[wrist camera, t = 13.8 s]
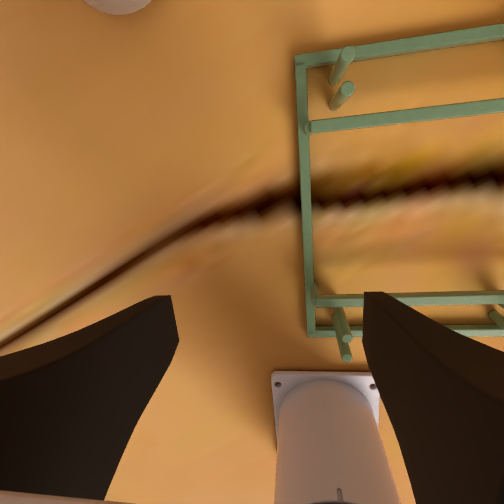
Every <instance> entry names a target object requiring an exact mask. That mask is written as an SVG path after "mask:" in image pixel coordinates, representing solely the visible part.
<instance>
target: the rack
mask: <svg viewBox="0 0 504 504" xmlns="http://www.w3.org/2000/svg"><path fill="white" fill-rule="evenodd" d="M499 40H504V23H501V24H495V25H488V26H482V27H475V28H469V29H462V30H456V31H449V32H443V33H436V34H430V35H423V36H416V37H410V38H403V39H397V40H390V41H384V42H377V43H371V44H364V45H358V46H349V45H348V46H345V47H344V48H338V49H332V50H325V51H319V52H312V53H306V54H299V55H295V58H294V60H295V82H296V103H297V125H298V147H299V169H300V191H301V213H302V235H303V257H304V279H305V301H306V323H307V337H337V341H338V346H339V350H340V354H341V358H342V360H343V361H344V362H350V361H351V360H352V354H351V351H350V347H349V344H348V343H350V342H351V341H352V339H353V338H352V337H362V336H363V326H349V325H348V322H347V319H346V316H345V312H344V309H343V307H364V294H339V295H320V293H319V288H318V284H317V283H316V282H314V272H313V244H312V215H311V187H310V159H309V136H310V135H312V134H314V133H323V132H332V131H341V130H350V129H360V128H369V127H378V126H387V125H396V124H405V123H414V122H423V121H432V120H441V119H450V118H459V117H468V116H477V115H486V114H495V113H504V98H499V99H490V100H482V101H473V102H465V103H456V104H448V105H439V106H431V107H422V108H414V109H405V110H397V111H388V112H380V113H371V114H363V115H354V116H346V117H338V118H329V119H321V120H312V121H309V122H308V102H307V73H306V68H313V67H320V66H327V65H334V64H335V65H334V67H333V69H332V71H331V74H330V76H329V79H328V81H329V83H330V84H331V85H336V84H337V83H338V82H339V80H340V79H341V77H342V76H343V74H344V72H345V71H346V69H347V68H348V66H349V65H350V63H351V62H355V61H361V60H368V59H375V58H382V57H389V56H396V55H403V54H410V53H416V52H423V51H430V50H437V49H444V48H451V47H458V46H465V45H471V44H478V43H485V42H492V41H499ZM354 90H355V86H354V84H353V83H352V82H351V81H346V82H344V83H343V84H342V85H341V87H340V88H339V90H338V91H337V92H336V94H335V95H334V97H333V98H332V100H331V101H330V102H329V108H330V109H331V110H332V111H335V110H337V109H338V108H339V107H340V106H341V105H342V104H343V103H344V102H345V101H346V100H347V99H348V98H349V97H350V96H351V95H352V94H353V93H354ZM387 294H388V295H390V296H392V297H394V298H396V299H397V300H399V301H401V302H402V303H404V304H406V305H407V306H427V305H477V304H498V305H500V306H501V307H502V308H504V290H489V291H451V292H414V293H387ZM315 305H316V307H317V308H327V307H333V308H334V312H335V314H334V315H333V316H332V320H333V324H334V326H315ZM488 316H489V318H490V319H491V320H492V321H494V322H495V323H496V324H489V325H443V326H445V327H447V328H449V329H451V330H453V331H455V332H457V333H460V334H462V335H464V336H466V337H504V317H503V316H502V315H501V314H499V313H498V312H497V311H492V312H490V313H489V315H488Z"/></svg>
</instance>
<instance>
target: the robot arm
mask: <svg viewBox="0 0 504 504" xmlns="http://www.w3.org/2000/svg"><path fill="white" fill-rule="evenodd" d="M178 343H179V336H178V331H177V326H176V320H175V315H174V310H173V304H172V299H171V295H165V296H153V297H150V298H148V299H145V300H143V301H141V302H139V303H136V304H134V305H132V306H130V307H128V308H126V309H124V310H122V311H120V312H118V313H115V314H113V315H111V316H109V317H107V318H105V319H103V320H100V321H98V322H96V323H94V324H92V325H89V326H87V327H85V328H83V329H80V330H78V331H75V332H73V333H70V334H68V335H65V336H63V337H60V338H57V339H55V340H52V341H49V342H46V343H43V344H40V345H37V346H34V347H31V348H27V349H24V350H21V351H18V352H14V353H11V354H8V355H4V356H1V357H0V504H134V503H123V502H113V501H104V499H105V496H106V494H107V491H108V488H109V486H110V484H111V481H112V479H113V476H114V474H115V472H116V469H117V467H118V464H119V462H120V459H121V457H122V455H123V453H124V450H125V448H126V446H127V444H128V441H129V439H130V437H131V435H132V432H133V430H134V428H135V426H136V424H137V422H138V420H139V418H140V416H141V415H142V413H143V411H144V409H145V408H146V406H147V404H148V402H149V401H150V399H151V397H152V395H153V394H154V392H155V390H156V388H157V387H158V385H159V383H160V381H161V380H162V378H163V376H164V374H165V372H166V371H167V369H168V367H169V365H170V363H171V361H172V358H173V356H174V354H175V351H176V348H177V345H178ZM362 343H363V347H364V351H365V355H366V359H367V363H368V366H369V369H370V372H323V371H274V372H273V373H272V374H271V384H272V395H273V406H274V416H275V427H276V438H277V463H276V481H275V499H274V504H401V502H400V498H399V495H398V492H397V489H396V485H395V482H394V479H393V476H392V472H391V469H390V466H389V463H388V459H387V456H386V453H385V450H384V446H383V443H382V440H381V437H380V433H379V430H378V422H379V400H380V396H381V399H382V401H383V404H384V406H385V409H386V411H387V414H388V416H389V419H390V421H391V423H392V426H393V428H394V431H395V434H396V437H397V440H398V442H399V446H400V449H401V452H402V456H403V459H404V462H405V466H406V469H407V473H408V476H409V479H410V483H411V486H412V490H413V494H414V497H415V501H416V504H504V352H502V351H500V350H497V349H495V348H492V347H490V346H487V345H485V344H483V343H480V342H478V341H475V340H473V339H471V338H468V337H466V336H464V335H462V334H460V333H457V332H455V331H453V330H451V329H449V328H447V327H445V326H443V325H441V324H439V323H437V322H436V321H434V320H432V319H430V318H428V317H426V316H425V315H423V314H421V313H419V312H418V311H416V310H414V309H412V308H411V307H409V306H407V305H406V304H404V303H402V302H401V301H399V300H397V299H396V298H394V297H392V296H390V295H388V294H387V293H384V292H364V308H363V336H362ZM276 382H280V384H277V383H276ZM371 384H375V385H372V386H371Z"/></svg>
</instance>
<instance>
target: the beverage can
mask: <svg viewBox="0 0 504 504" xmlns="http://www.w3.org/2000/svg"><path fill="white" fill-rule="evenodd" d="M82 1H84V2H85V3H87V4H88V5H89V6H91V7H93V8H94V9H96V10H98V11H101V12H103V13H106V14H111V15H127V14H131V13H134V12H136V11H138V10H140V9H142V8H143V7H145V6H146V5H147V4H149V3H150V2H151V1H152V0H82Z"/></svg>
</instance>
